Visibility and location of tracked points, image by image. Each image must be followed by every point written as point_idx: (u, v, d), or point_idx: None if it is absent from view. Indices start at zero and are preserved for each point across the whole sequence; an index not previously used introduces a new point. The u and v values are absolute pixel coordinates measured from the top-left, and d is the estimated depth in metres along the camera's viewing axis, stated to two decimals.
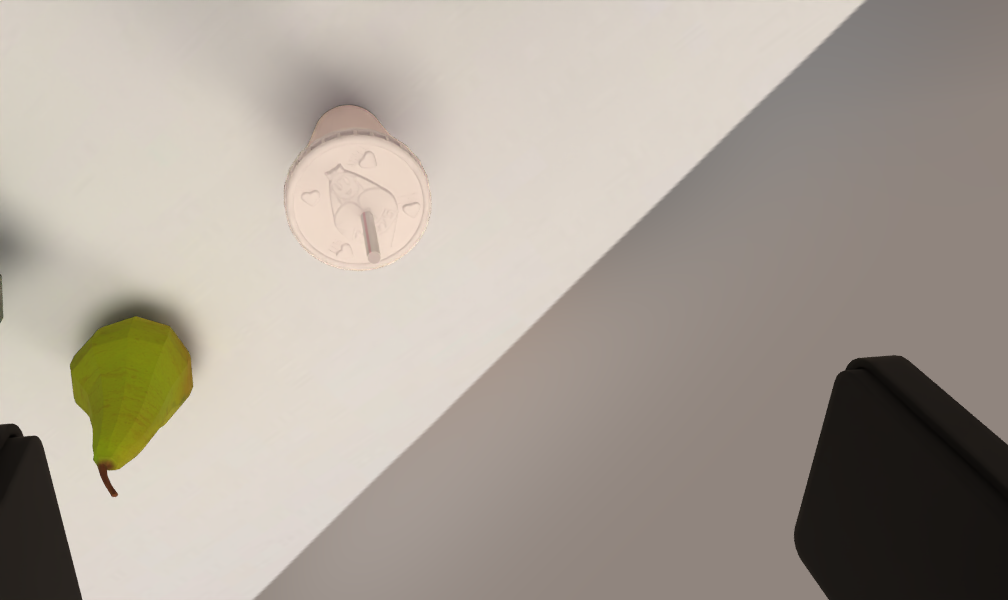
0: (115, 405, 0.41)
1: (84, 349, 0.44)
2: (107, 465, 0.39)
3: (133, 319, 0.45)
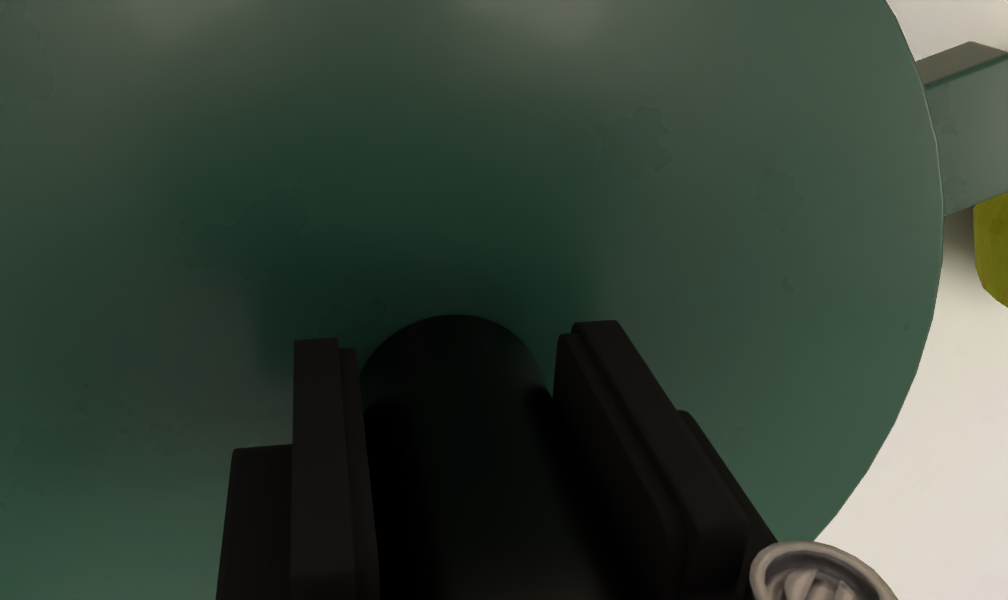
0: None
1: None
2: None
3: None
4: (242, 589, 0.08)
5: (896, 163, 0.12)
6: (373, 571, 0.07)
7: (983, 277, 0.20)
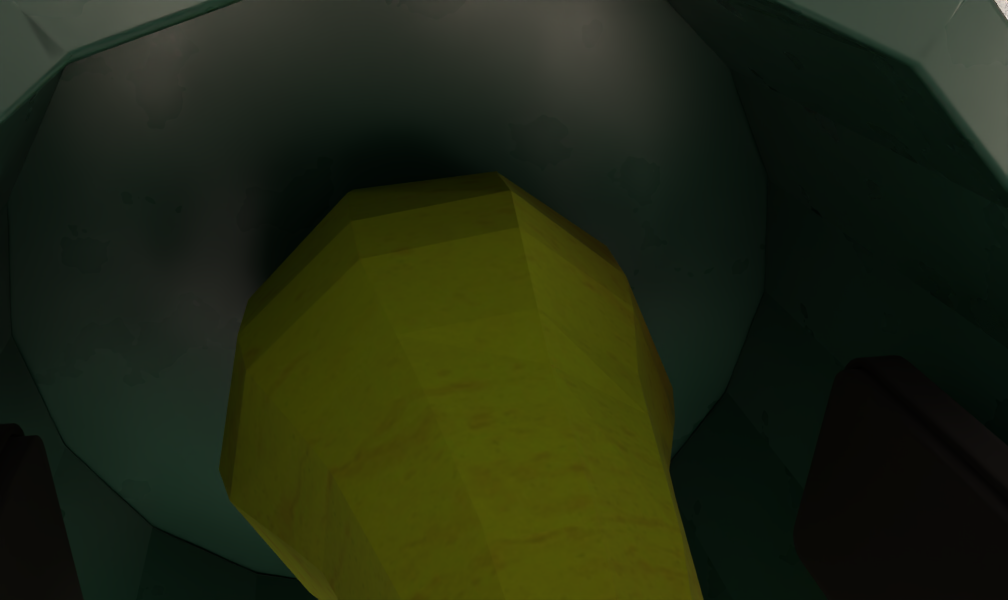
0: None
1: (232, 391, 0.10)
2: None
3: (349, 195, 0.10)
4: None
5: None
6: None
7: None
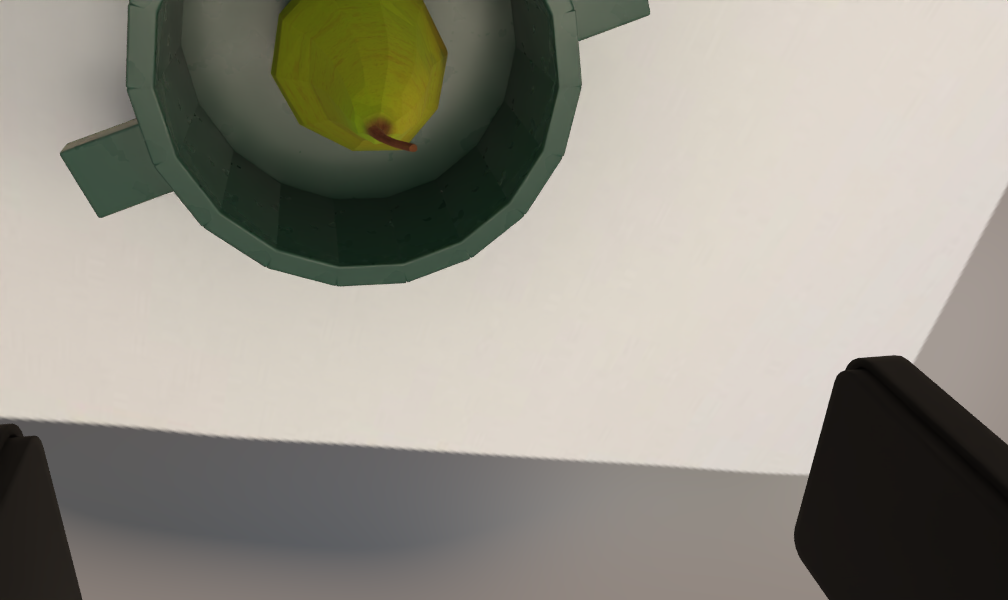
0: (349, 53, 0.25)
1: (276, 36, 0.28)
2: (382, 126, 0.24)
3: None
4: None
5: None
6: None
7: None
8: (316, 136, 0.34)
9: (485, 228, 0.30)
